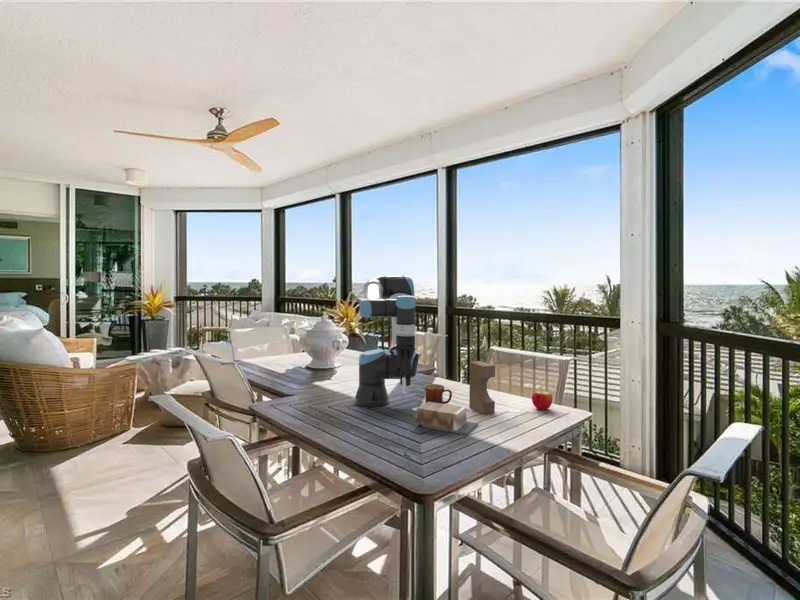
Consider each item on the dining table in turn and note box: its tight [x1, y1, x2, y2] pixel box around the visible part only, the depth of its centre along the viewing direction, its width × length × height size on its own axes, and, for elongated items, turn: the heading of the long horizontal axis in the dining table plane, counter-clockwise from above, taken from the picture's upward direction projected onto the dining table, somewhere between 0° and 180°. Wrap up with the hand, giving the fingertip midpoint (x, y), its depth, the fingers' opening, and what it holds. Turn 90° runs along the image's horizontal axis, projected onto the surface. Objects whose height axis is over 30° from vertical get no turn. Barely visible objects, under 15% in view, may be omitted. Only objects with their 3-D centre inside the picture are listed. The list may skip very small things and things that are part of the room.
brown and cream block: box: [416, 402, 467, 431], centre depth 169 cm, size 6×10×16 cm
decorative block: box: [468, 360, 496, 415], centre depth 188 cm, size 11×6×20 cm, turn 25°
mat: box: [421, 420, 479, 436], centre depth 169 cm, size 18×12×1 cm, turn 61°
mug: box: [423, 383, 453, 404], centre depth 187 cm, size 12×9×10 cm
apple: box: [531, 386, 553, 411], centre depth 190 cm, size 8×8×10 cm
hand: (405, 393), depth 177 cm, fingers closed
